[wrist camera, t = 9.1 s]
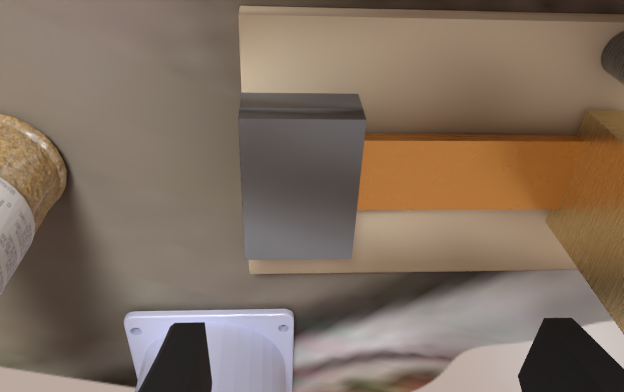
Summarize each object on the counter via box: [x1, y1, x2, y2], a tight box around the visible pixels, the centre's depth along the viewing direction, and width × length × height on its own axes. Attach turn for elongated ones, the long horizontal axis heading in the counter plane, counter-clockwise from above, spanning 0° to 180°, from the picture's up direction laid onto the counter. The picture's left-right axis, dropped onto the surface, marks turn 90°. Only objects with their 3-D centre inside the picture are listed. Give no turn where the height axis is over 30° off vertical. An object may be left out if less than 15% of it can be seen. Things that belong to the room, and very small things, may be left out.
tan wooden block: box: [357, 110, 624, 334], centre depth 17 cm, size 5×11×7 cm, turn 88°
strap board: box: [238, 6, 624, 274], centre depth 20 cm, size 11×20×3 cm, turn 88°
